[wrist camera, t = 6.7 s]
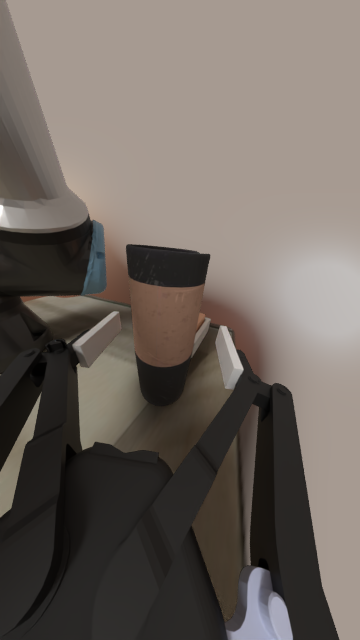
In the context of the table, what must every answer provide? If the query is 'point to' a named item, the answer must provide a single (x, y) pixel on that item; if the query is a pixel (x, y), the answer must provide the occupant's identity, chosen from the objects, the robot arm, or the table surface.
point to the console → (200, 335)
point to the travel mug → (164, 315)
